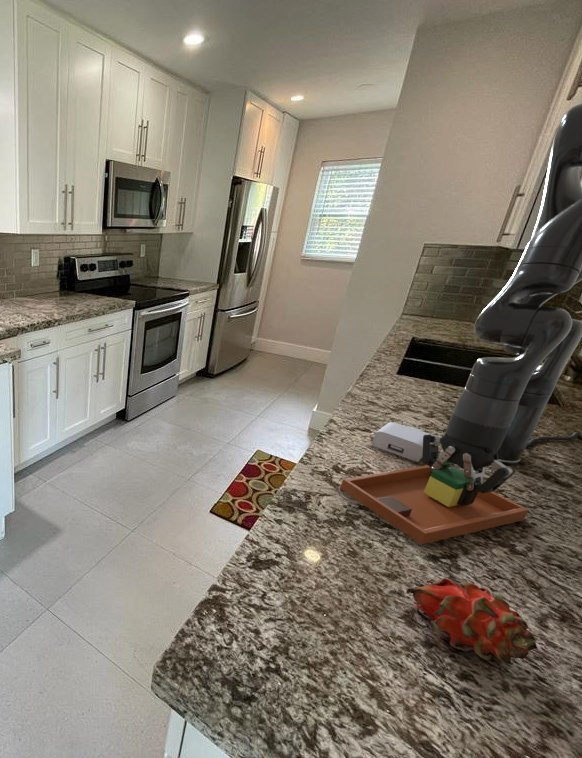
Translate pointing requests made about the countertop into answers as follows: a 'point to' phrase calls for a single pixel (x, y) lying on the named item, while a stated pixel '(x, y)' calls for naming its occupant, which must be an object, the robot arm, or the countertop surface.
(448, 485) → the sponge
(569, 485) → the countertop surface
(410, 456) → the charger
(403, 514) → the block
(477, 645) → the dragon fruit
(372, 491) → the pan
